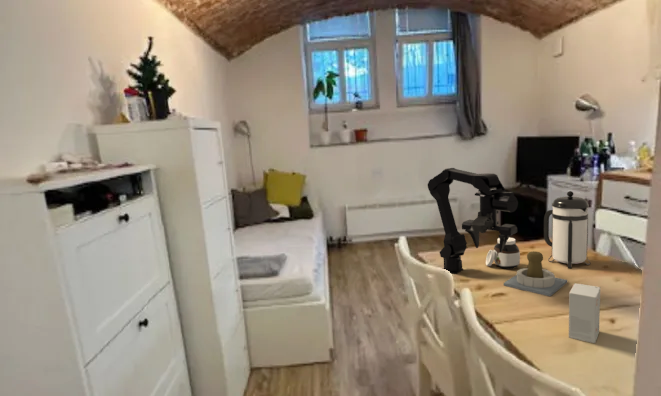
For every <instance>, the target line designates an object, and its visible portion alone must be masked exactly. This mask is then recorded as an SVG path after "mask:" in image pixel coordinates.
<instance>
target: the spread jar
mask: <svg viewBox="0 0 661 396" xmlns="http://www.w3.org/2000/svg"><path fill="white" fill-rule="evenodd" d="M499 246H500V238H499V237H498V238H497V243H496V244H495V245H494V246H493V249H489V251H488V252H487V254H486V258H485V266H488V267H491V266H492V264H493V263H495V265H496V266H497V267H498V268H499V269H504V270H513V269H516V268H518V266H520V262H521V253H520V248H519V246H518V245H517V244H516V238H514V237H511V236H510V237H509V238H508V240H507V242H506V244H505V246H504V249H503V251H502V252H500V249H499Z"/></svg>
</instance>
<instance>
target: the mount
mask: <svg viewBox="0 0 661 396" xmlns="http://www.w3.org/2000/svg"><path fill="white" fill-rule="evenodd" d="M527 269H528V267H526V268H524V267H523V268H520V269H518V270H516V274H515V275H513V276H512V277H511V278H509V279H508V280H506V281H505V282H503V286H504V287H509V288H513V289H517V290H521V291H526V292H529V293H534V294H537V295H542V296H547V297H551V296H553V295H554V294H555V293H556V292H557V291H559V290H560V289H561V288H563V287H564V286H565V285H566V284H568V279H564V278H560V277H556V276H555V273H554V272H552V271H550V270H547V269H544V268H542V270H543V277H544V278H532V277H527Z"/></svg>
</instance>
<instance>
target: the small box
mask: <svg viewBox="0 0 661 396" xmlns="http://www.w3.org/2000/svg"><path fill="white" fill-rule="evenodd" d="M600 308H601V286H597V285H589V284H583V283H573V285H572V287H571V289H570V290H569V293H568V338H570V339H573V340H574V339H575V340H578V341H584V342H586V343H591V344H596V342H597V339H598V336H599V332H600V312H601V311H600V310H601V309H600Z"/></svg>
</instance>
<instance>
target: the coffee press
mask: <svg viewBox="0 0 661 396" xmlns="http://www.w3.org/2000/svg"><path fill="white" fill-rule="evenodd" d="M566 195H567V196H560V197H557V198H555V199H553V202H552V203H551V207H552V209H549V210H547V211H546V212H545V214H544V215H543V216H544V217H543V239H544V241H545V244H546V245H548V246H549V247H551V255H550V257H548V263H553V262H554V261H556V262H558V263H563V264H567V269H568V270H569V269H570V270H571V269H573V265H574V264H575V265H576V264H582V263H584V264H586V265H587V266H590V265H591V261H590V260H589V258H588V257H587V252H588V236H589V211H588V209H589V206H590V203H588V201H587V200H586V199H585V198H583V197H579V196H574V192H573V191H571V190H570V191H567V192H566ZM550 217H551V222H552V235H551V240H550V233H549V231H550V229H549V228H550ZM551 258H553V259H552V260H550V259H551ZM586 261H588V262H589V263H587V262H586Z"/></svg>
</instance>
